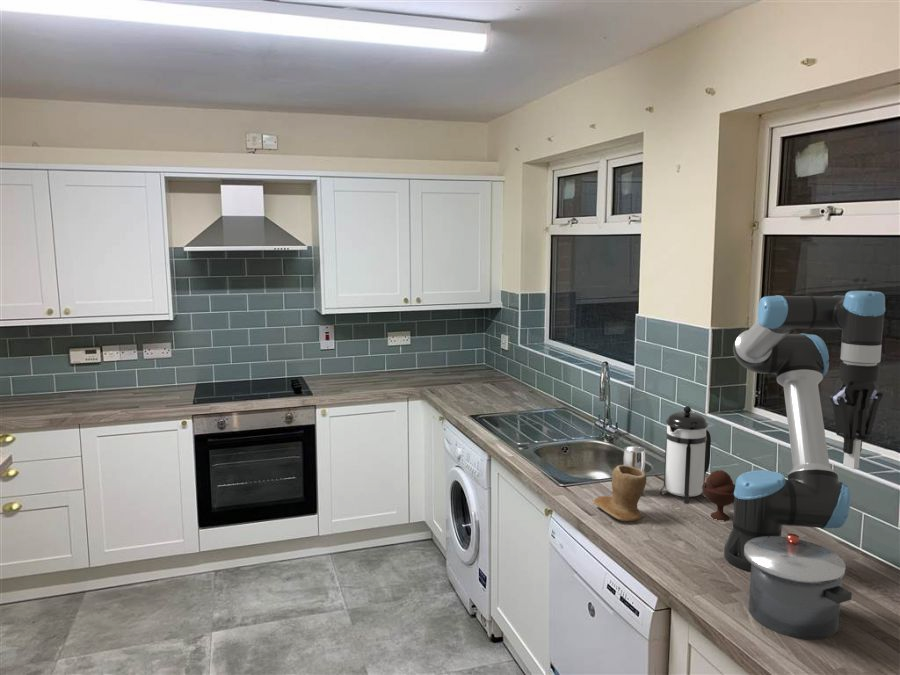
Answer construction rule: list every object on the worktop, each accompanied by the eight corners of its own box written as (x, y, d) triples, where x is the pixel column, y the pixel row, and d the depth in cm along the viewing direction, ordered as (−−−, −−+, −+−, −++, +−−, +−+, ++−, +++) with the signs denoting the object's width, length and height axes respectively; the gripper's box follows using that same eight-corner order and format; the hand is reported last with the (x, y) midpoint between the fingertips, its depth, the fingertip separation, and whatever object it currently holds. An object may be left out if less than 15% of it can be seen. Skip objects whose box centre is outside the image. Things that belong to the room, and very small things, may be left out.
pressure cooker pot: (783, 581, 169) (787, 531, 167) (876, 633, 147) (882, 576, 145) (721, 598, 161) (724, 546, 159) (809, 655, 139) (814, 595, 137)
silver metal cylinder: (630, 487, 232) (632, 444, 230) (648, 493, 227) (650, 449, 225) (618, 492, 228) (619, 448, 226) (635, 498, 223) (637, 453, 220)
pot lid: (788, 535, 164) (789, 524, 164) (866, 573, 146) (868, 560, 146) (724, 549, 157) (725, 537, 156) (798, 590, 138) (799, 577, 138)
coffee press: (713, 506, 216) (718, 413, 211) (660, 501, 220) (663, 410, 215) (708, 487, 232) (712, 400, 228) (659, 482, 236) (662, 398, 232)
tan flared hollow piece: (652, 520, 205) (654, 472, 203) (618, 526, 201) (620, 477, 199) (624, 502, 219) (625, 457, 217) (591, 507, 216) (592, 461, 213)
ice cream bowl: (743, 525, 201) (746, 476, 199) (704, 523, 203) (706, 475, 201) (734, 511, 212) (737, 464, 209) (697, 509, 213) (699, 463, 211)
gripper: (866, 357, 154) (858, 458, 158) (821, 361, 150) (814, 465, 153) (897, 363, 147) (888, 468, 151) (851, 367, 143) (843, 476, 146)
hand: (850, 466), depth 152 cm, fingers closed
